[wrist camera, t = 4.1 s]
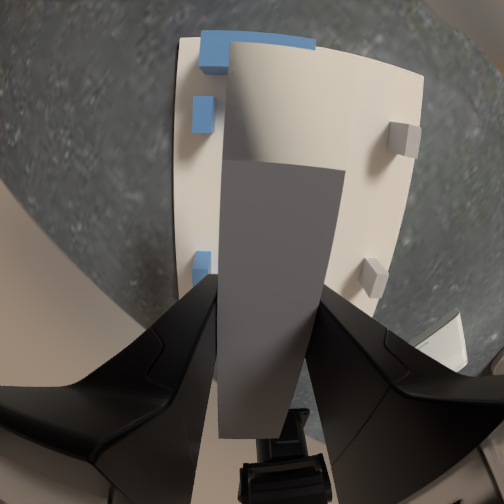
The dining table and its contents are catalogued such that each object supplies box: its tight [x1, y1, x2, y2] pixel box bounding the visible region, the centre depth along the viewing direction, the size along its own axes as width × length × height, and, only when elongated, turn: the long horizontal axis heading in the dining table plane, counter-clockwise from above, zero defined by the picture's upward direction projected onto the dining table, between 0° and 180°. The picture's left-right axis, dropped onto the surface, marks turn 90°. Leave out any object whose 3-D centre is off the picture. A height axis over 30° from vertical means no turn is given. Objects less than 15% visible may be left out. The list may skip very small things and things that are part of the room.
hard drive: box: [408, 308, 468, 372], centre depth 28 cm, size 2×8×12 cm
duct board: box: [174, 30, 424, 317], centre depth 17 cm, size 20×16×4 cm
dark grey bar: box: [217, 41, 358, 439], centre depth 8 cm, size 13×2×2 cm, turn 176°
